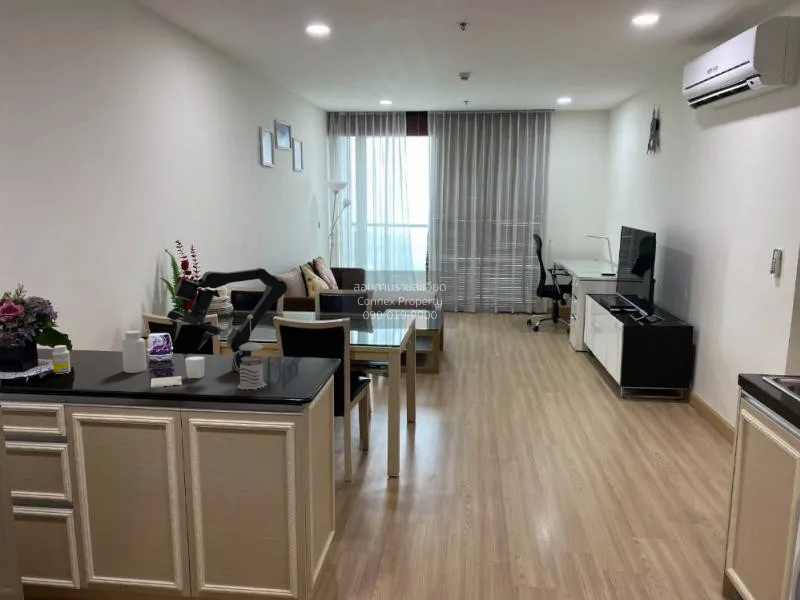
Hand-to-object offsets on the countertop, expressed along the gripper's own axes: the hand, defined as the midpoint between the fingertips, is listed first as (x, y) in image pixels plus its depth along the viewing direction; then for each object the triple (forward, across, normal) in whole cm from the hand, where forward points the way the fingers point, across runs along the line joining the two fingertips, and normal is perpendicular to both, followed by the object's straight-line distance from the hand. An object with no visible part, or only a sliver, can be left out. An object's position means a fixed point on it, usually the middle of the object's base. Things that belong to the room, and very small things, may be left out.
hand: (186, 345), depth 219 cm
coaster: (+14, 0, -5) cm, 15 cm away
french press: (+5, +28, -9) cm, 30 cm away
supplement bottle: (+26, -41, +8) cm, 49 cm away
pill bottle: (+17, -17, +11) cm, 27 cm away
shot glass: (+10, +7, +3) cm, 12 cm away
